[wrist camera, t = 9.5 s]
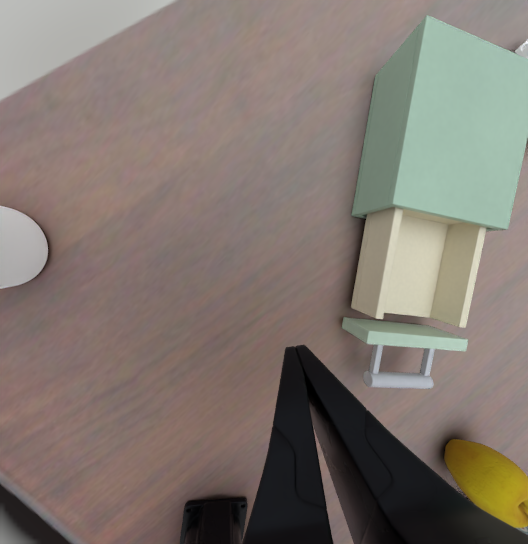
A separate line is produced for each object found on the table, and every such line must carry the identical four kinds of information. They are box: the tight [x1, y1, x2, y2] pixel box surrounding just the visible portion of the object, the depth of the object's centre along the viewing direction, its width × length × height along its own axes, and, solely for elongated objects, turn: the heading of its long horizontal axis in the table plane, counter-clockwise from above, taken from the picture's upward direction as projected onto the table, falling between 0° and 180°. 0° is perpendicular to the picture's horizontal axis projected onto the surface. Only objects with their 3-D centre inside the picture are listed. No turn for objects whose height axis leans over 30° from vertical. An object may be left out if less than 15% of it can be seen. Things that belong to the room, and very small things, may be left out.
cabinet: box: [352, 15, 528, 231], centre depth 20 cm, size 14×12×6 cm
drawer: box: [342, 207, 487, 389], centre depth 21 cm, size 18×11×4 cm, turn 171°
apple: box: [444, 439, 528, 528], centre depth 24 cm, size 6×6×8 cm
